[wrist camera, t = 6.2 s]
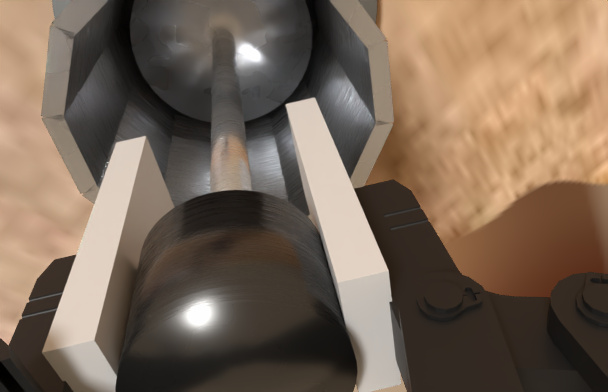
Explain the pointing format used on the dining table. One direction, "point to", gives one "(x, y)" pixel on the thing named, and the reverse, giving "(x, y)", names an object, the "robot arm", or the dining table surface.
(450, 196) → the dining table surface
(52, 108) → the faceted metal cup
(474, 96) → the dining table surface
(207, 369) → the plunger
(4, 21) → the dining table surface
